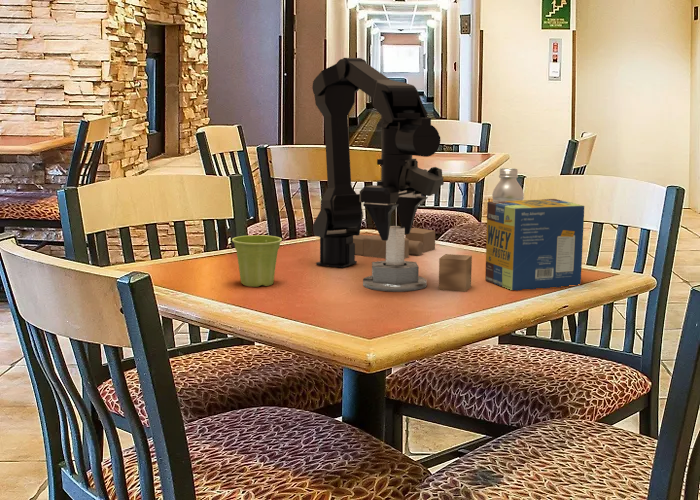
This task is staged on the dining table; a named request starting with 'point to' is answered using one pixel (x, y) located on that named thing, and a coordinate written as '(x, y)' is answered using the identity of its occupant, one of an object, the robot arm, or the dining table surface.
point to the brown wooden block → (455, 272)
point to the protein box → (534, 243)
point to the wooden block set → (414, 245)
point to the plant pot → (257, 258)
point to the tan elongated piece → (395, 246)
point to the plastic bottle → (508, 186)
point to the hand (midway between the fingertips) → (395, 237)
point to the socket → (395, 277)
